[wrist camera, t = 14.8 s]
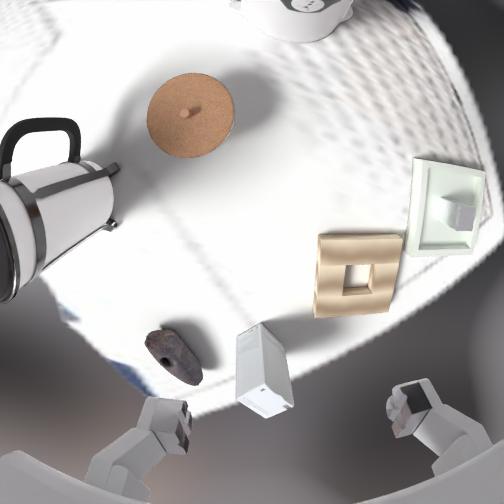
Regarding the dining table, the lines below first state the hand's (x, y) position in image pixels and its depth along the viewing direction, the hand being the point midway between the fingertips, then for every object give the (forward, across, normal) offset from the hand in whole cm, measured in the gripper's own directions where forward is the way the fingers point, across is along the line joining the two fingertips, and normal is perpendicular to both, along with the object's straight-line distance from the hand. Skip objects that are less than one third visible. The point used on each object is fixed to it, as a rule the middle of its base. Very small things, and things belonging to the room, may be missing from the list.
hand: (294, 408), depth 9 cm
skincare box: (+34, +1, +26) cm, 43 cm away
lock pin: (+33, -32, 0) cm, 46 cm away
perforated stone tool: (+34, +17, +28) cm, 47 cm away
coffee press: (+34, +29, -5) cm, 45 cm away
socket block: (+34, -15, +12) cm, 39 cm away
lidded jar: (+34, +9, -13) cm, 38 cm away
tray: (+34, -32, 0) cm, 47 cm away
